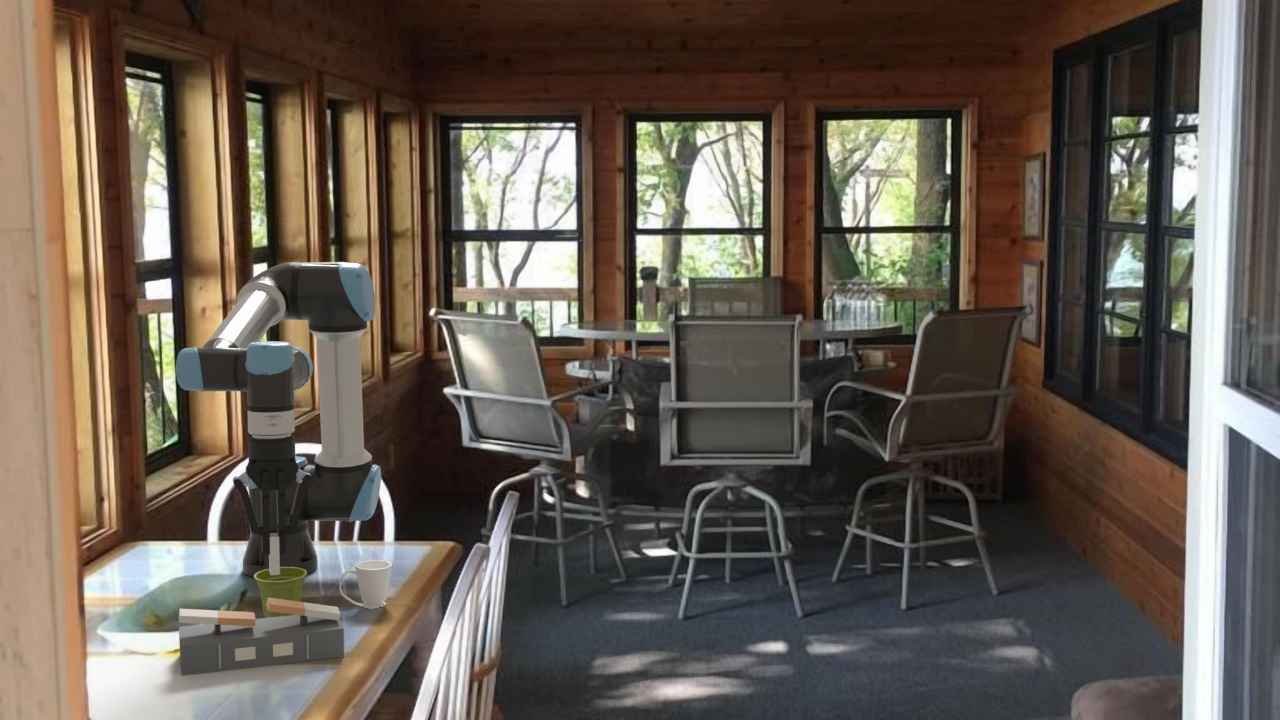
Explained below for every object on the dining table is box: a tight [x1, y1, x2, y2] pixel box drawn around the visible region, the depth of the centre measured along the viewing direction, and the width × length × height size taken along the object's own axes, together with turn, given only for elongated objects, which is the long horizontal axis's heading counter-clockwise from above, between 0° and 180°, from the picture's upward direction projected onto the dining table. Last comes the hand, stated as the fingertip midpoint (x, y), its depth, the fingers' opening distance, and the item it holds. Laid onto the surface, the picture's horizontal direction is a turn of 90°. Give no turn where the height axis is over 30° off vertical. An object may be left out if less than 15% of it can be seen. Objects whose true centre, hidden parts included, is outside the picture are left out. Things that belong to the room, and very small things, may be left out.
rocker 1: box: [178, 608, 257, 626], centre depth 214 cm, size 4×12×1 cm, turn 111°
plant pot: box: [253, 567, 308, 618], centre depth 236 cm, size 9×9×9 cm
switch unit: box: [178, 615, 345, 676], centre depth 217 cm, size 10×26×7 cm, turn 111°
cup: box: [338, 559, 393, 610], centre depth 245 cm, size 7×10×8 cm
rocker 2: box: [266, 597, 341, 620], centre depth 219 cm, size 4×12×1 cm, turn 111°
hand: (274, 572), depth 216 cm, fingers closed
